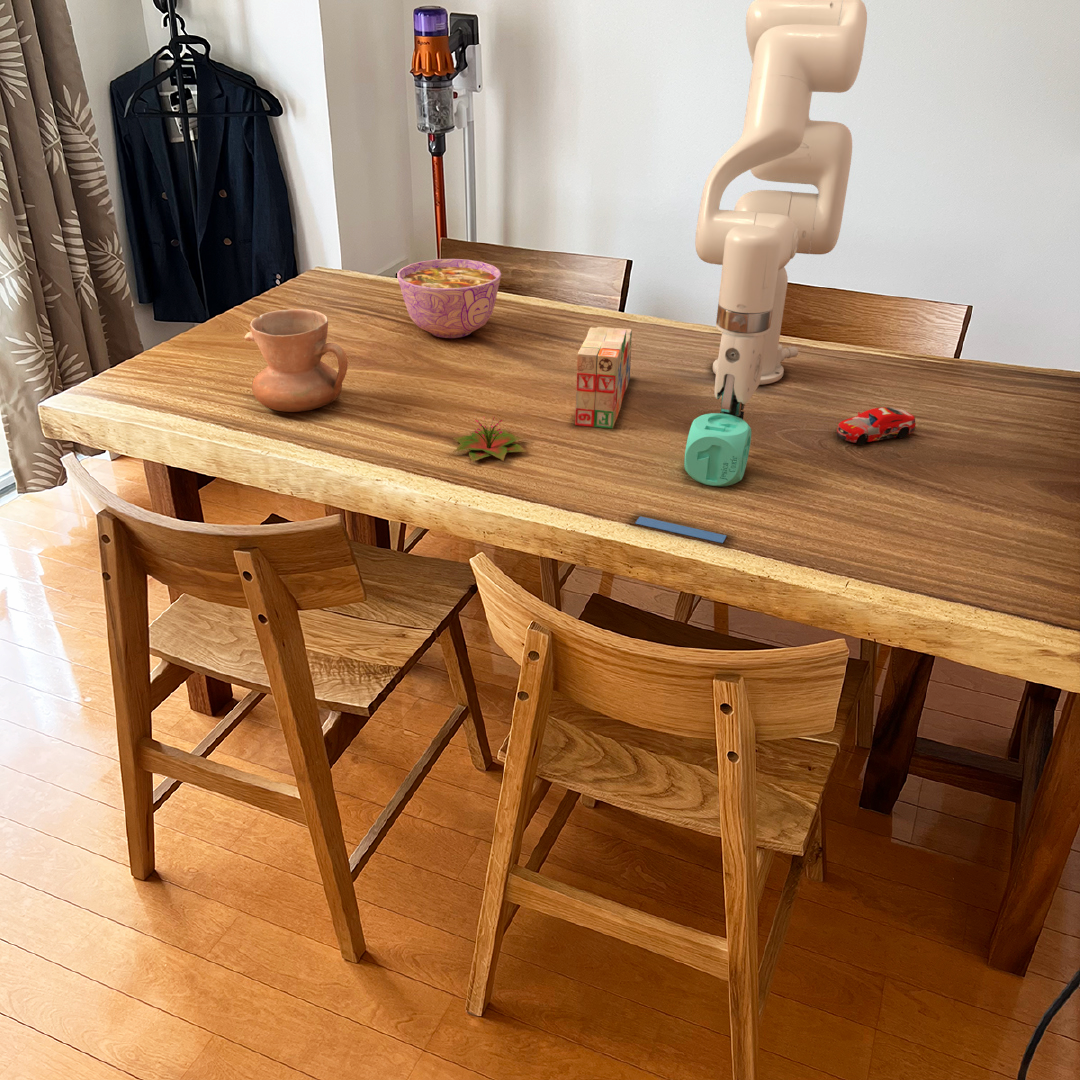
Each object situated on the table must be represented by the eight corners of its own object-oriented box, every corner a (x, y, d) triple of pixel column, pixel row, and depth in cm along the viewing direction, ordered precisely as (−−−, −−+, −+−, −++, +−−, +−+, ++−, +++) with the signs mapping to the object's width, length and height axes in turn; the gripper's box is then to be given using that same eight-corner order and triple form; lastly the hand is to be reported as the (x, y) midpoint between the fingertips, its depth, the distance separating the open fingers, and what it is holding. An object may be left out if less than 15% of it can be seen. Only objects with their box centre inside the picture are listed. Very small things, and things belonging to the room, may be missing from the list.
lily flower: (465, 472, 143) (464, 444, 141) (439, 439, 152) (437, 412, 150) (540, 458, 147) (541, 430, 145) (510, 426, 156) (510, 400, 154)
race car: (848, 448, 151) (853, 425, 149) (828, 434, 156) (832, 411, 154) (919, 436, 155) (924, 413, 153) (897, 422, 159) (902, 400, 157)
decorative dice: (681, 481, 141) (686, 430, 137) (694, 457, 148) (699, 409, 144) (736, 491, 139) (743, 440, 135) (747, 467, 145) (754, 417, 141)
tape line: (635, 523, 131) (635, 523, 131) (639, 516, 133) (639, 516, 133) (722, 543, 127) (722, 542, 127) (726, 536, 129) (726, 535, 128)
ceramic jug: (230, 411, 160) (216, 327, 153) (280, 380, 172) (269, 300, 164) (327, 429, 155) (317, 343, 148) (371, 395, 167) (364, 314, 159)
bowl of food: (499, 350, 186) (498, 289, 180) (393, 348, 186) (389, 288, 180) (504, 315, 203) (503, 259, 197) (407, 313, 203) (404, 257, 197)
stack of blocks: (595, 376, 175) (598, 308, 169) (630, 379, 174) (634, 311, 168) (574, 425, 157) (577, 352, 151) (613, 429, 156) (617, 355, 150)
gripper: (758, 339, 130) (742, 461, 140) (781, 305, 142) (764, 421, 152) (703, 330, 133) (691, 451, 143) (730, 298, 145) (717, 412, 154)
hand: (729, 435), depth 147 cm, fingers closed
